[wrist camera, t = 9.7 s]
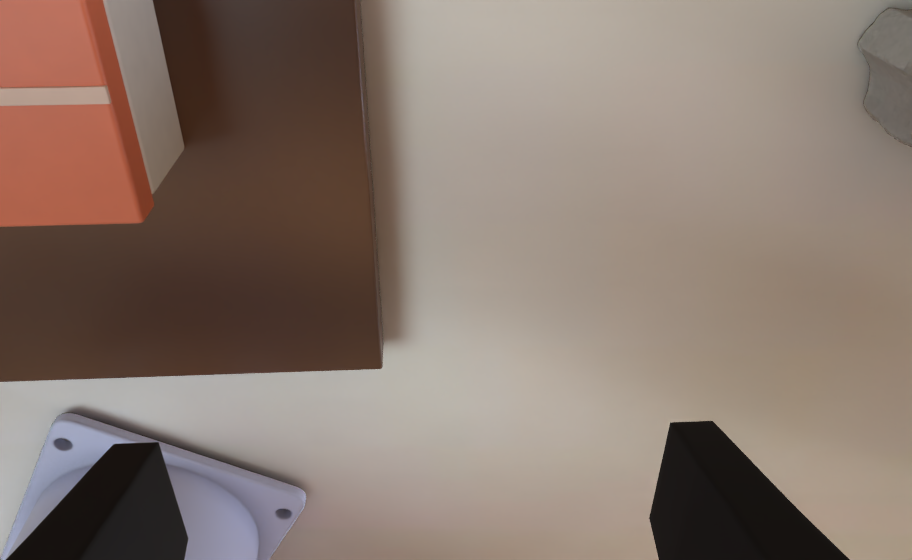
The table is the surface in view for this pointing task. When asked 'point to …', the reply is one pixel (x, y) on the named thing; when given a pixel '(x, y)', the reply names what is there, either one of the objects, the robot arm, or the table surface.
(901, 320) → the table surface
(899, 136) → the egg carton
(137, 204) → the salmon nigiri
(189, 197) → the serving board
